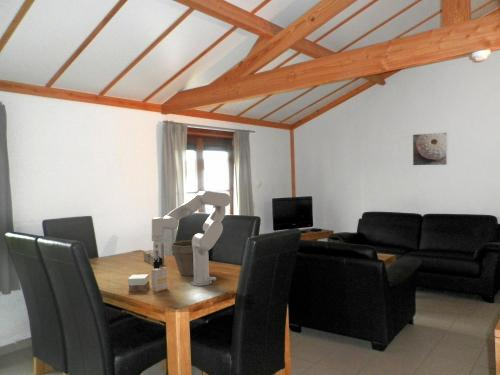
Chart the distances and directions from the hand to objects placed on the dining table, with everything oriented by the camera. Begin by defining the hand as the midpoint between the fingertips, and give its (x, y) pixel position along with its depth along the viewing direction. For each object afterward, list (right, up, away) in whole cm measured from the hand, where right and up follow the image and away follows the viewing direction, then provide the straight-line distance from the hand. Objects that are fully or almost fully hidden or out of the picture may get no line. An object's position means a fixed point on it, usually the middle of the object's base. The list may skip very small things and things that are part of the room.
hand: (158, 266), depth 237 cm
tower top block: (-13, -11, +4) cm, 17 cm away
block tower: (-22, -13, +80) cm, 84 cm away
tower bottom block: (-12, -15, +4) cm, 20 cm away
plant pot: (+13, -13, +41) cm, 45 cm away
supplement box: (+1, -14, +1) cm, 14 cm away
